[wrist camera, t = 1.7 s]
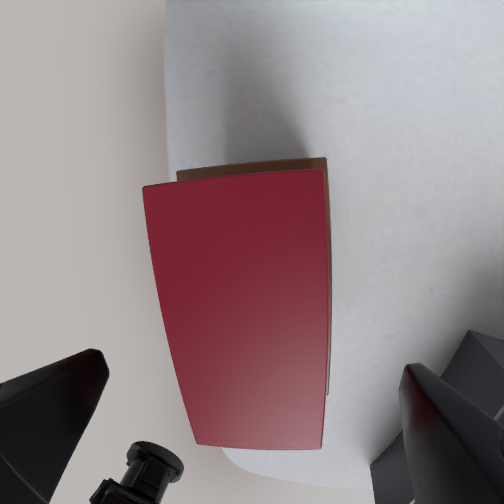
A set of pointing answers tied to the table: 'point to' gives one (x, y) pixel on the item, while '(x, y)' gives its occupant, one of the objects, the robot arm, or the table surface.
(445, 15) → the table surface
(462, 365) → the storage bin
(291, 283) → the red rectangular block
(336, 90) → the table surface
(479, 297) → the table surface
